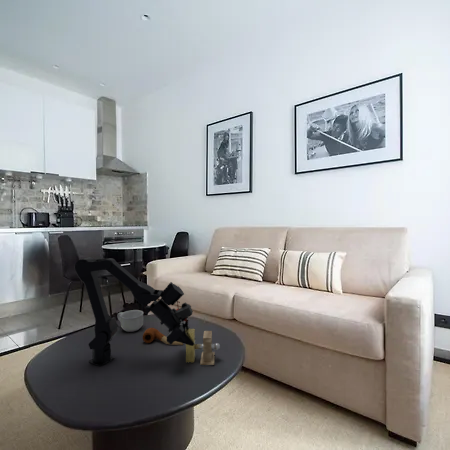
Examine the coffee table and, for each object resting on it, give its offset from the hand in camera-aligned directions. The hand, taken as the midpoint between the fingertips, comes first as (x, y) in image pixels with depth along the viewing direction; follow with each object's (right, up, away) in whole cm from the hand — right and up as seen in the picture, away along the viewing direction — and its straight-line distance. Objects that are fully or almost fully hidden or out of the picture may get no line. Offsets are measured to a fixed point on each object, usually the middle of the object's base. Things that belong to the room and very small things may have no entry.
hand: (194, 342), depth 105 cm
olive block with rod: (+4, -7, 0) cm, 7 cm away
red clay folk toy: (-11, -7, +34) cm, 37 cm away
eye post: (+5, -7, 0) cm, 8 cm away
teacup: (-35, -7, +32) cm, 48 cm away
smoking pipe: (-15, -7, +17) cm, 24 cm away
